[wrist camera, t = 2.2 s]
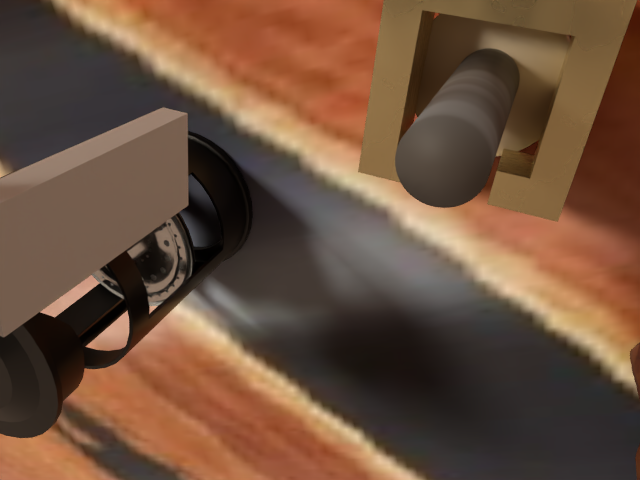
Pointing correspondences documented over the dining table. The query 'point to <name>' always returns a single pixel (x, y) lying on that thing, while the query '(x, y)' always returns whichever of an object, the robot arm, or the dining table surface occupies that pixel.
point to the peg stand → (476, 105)
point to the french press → (119, 300)
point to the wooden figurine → (639, 368)
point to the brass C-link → (564, 111)
